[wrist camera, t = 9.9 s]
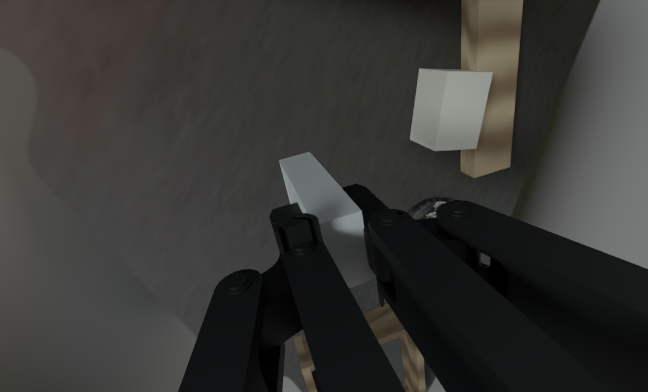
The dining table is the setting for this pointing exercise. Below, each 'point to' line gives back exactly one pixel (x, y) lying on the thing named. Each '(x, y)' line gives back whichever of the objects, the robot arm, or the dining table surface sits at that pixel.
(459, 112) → the block
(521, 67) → the dining table surface
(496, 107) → the batten
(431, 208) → the crumpled grey lump
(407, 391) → the wooden serving tray
